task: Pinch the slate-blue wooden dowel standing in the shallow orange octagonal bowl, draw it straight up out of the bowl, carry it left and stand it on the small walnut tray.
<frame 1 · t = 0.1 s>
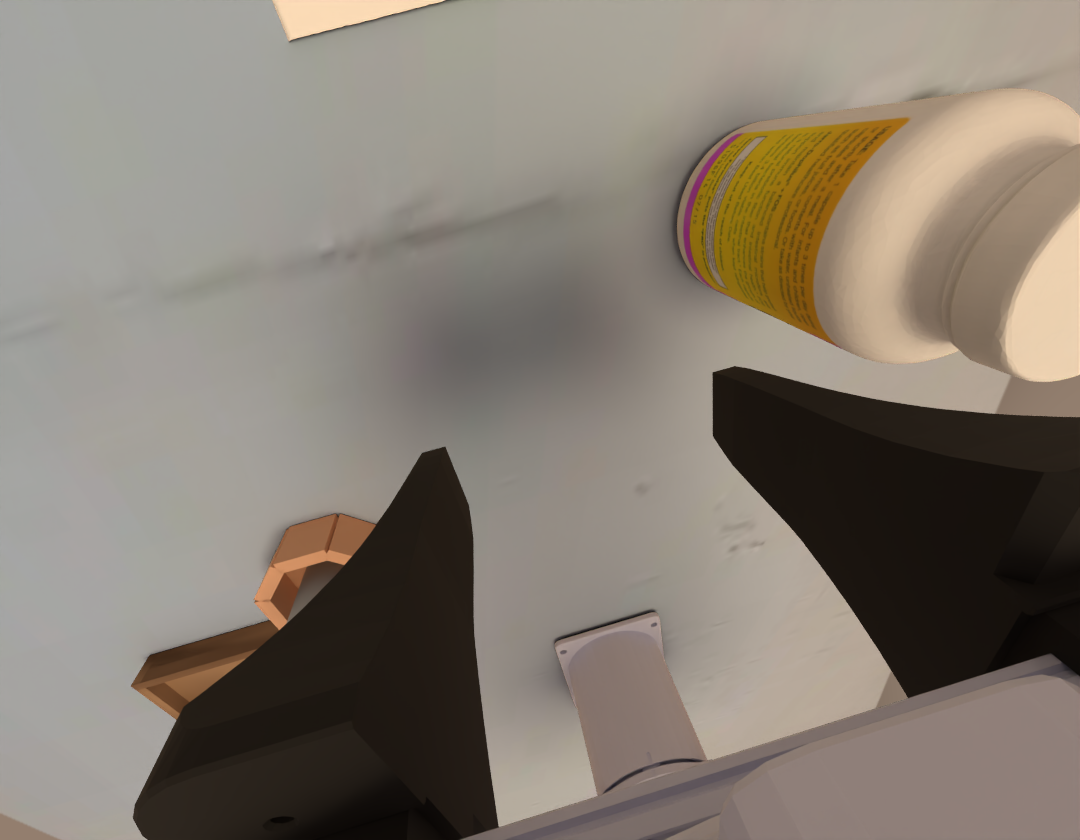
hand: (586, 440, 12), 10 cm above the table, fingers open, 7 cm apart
tray: (276, 684, 30), on the table
supplement bottle: (740, 211, 20), on the table
dowel: (338, 569, 25), point 1 cm above the table, touching orange octagonal bowl
orange octagonal bowl: (340, 560, 25), on the table
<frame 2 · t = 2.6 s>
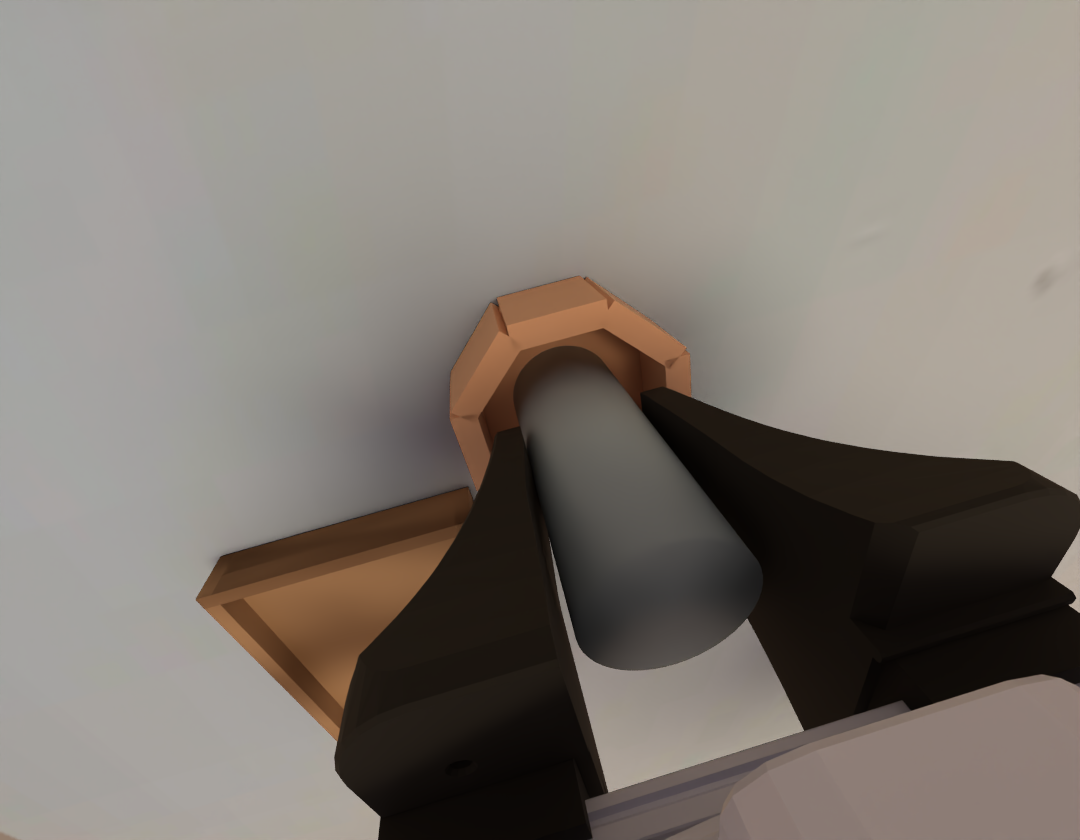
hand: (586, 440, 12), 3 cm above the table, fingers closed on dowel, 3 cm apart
tray: (407, 620, 19), on the table
dowel: (563, 393, 14), point 1 cm above the table, touching orange octagonal bowl, gripper
orange octagonal bowl: (559, 385, 15), on the table
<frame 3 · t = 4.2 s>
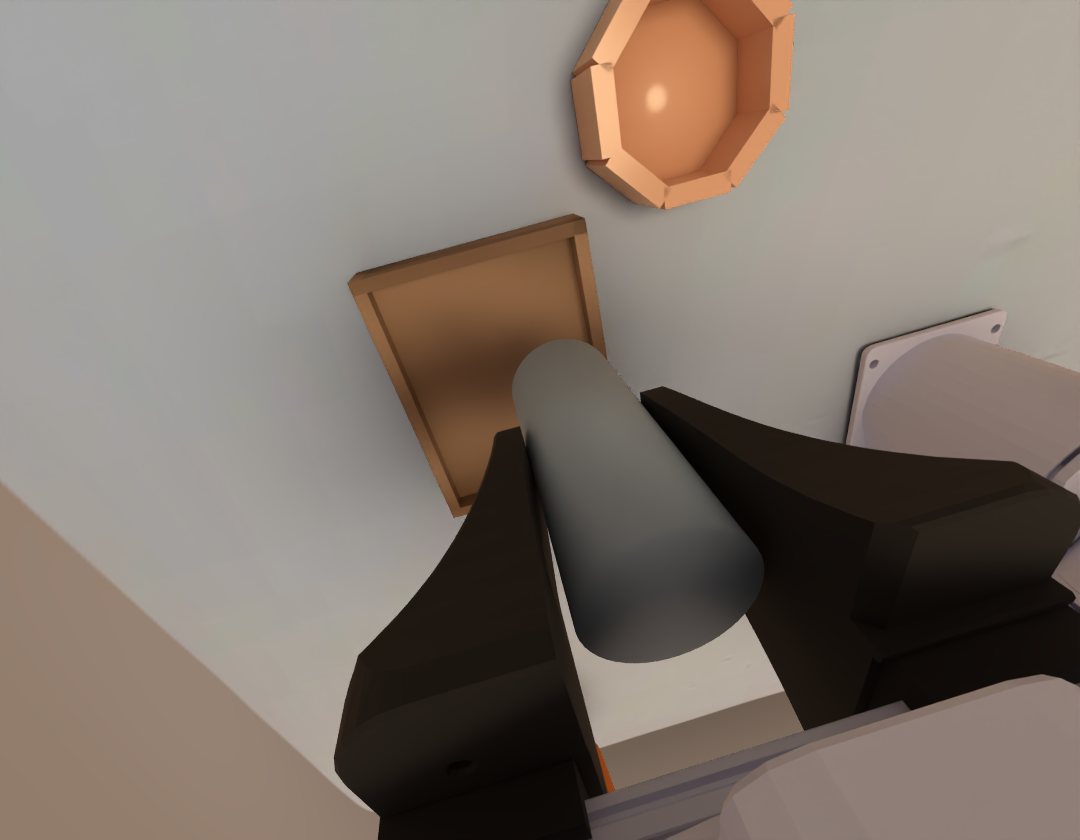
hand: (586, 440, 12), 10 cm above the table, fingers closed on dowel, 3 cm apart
tray: (505, 374, 21), on the table
dowel: (562, 387, 14), point 7 cm above the table, touching gripper
orange octagonal bowl: (662, 99, 16), on the table
when the fingers open (5 cm above the table, at t = 6.0 s): dowel stays where it is, resting on tray.
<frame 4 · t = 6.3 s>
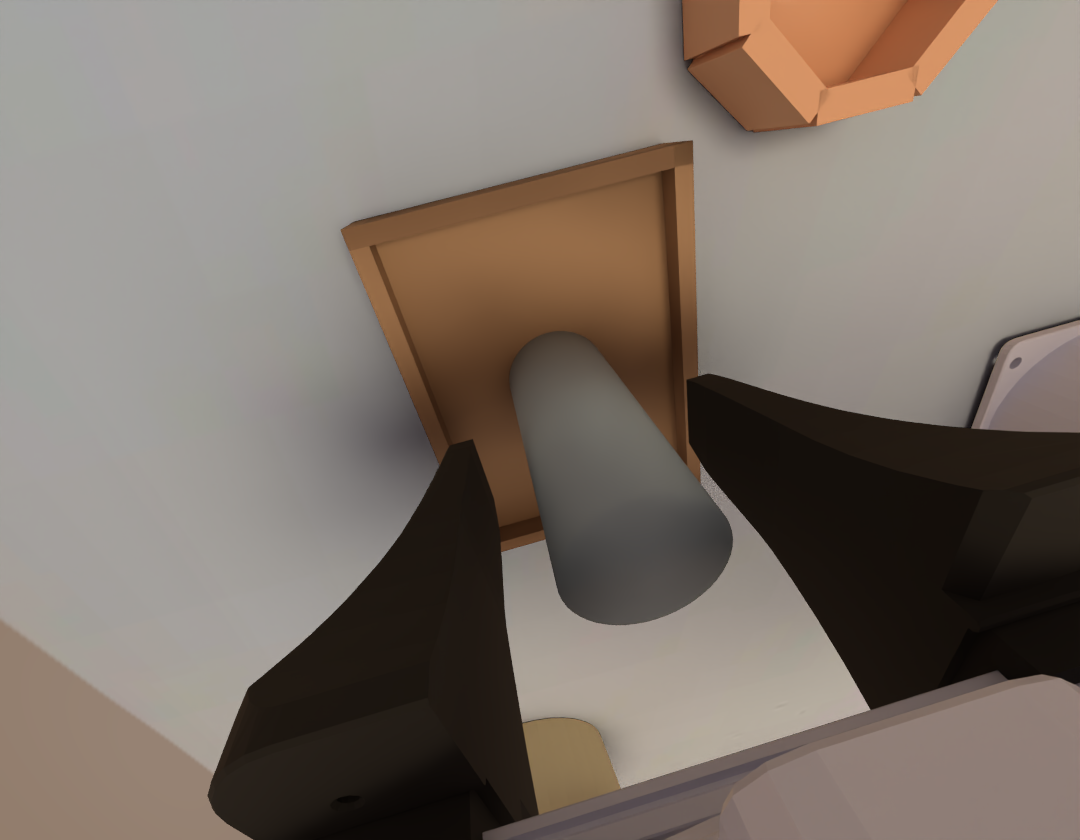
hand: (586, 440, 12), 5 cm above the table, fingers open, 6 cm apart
tray: (552, 370, 16), on the table
reusable coffee cup: (535, 751, 30), on the table
dowel: (557, 377, 15), point 1 cm above the table, touching tray
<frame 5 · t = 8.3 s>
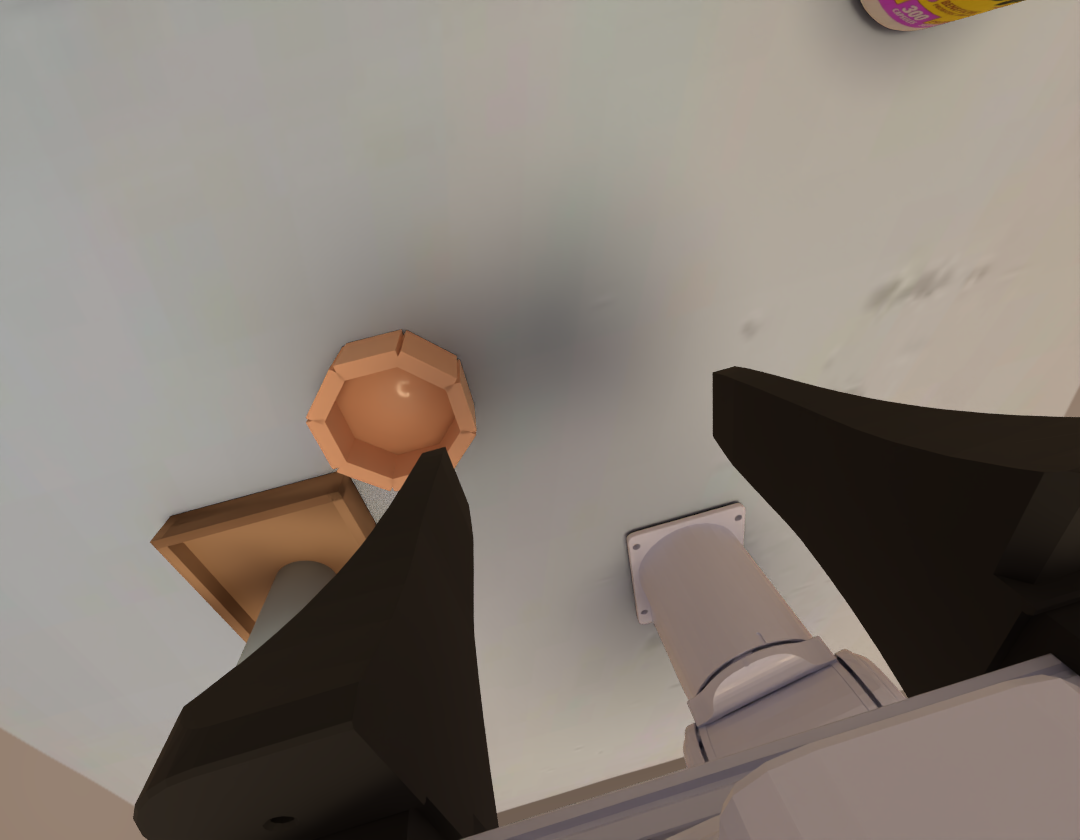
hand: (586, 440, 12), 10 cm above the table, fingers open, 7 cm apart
tray: (313, 569, 26), on the table
dowel: (307, 581, 25), point 1 cm above the table, touching tray
orange octagonal bowl: (400, 399, 21), on the table
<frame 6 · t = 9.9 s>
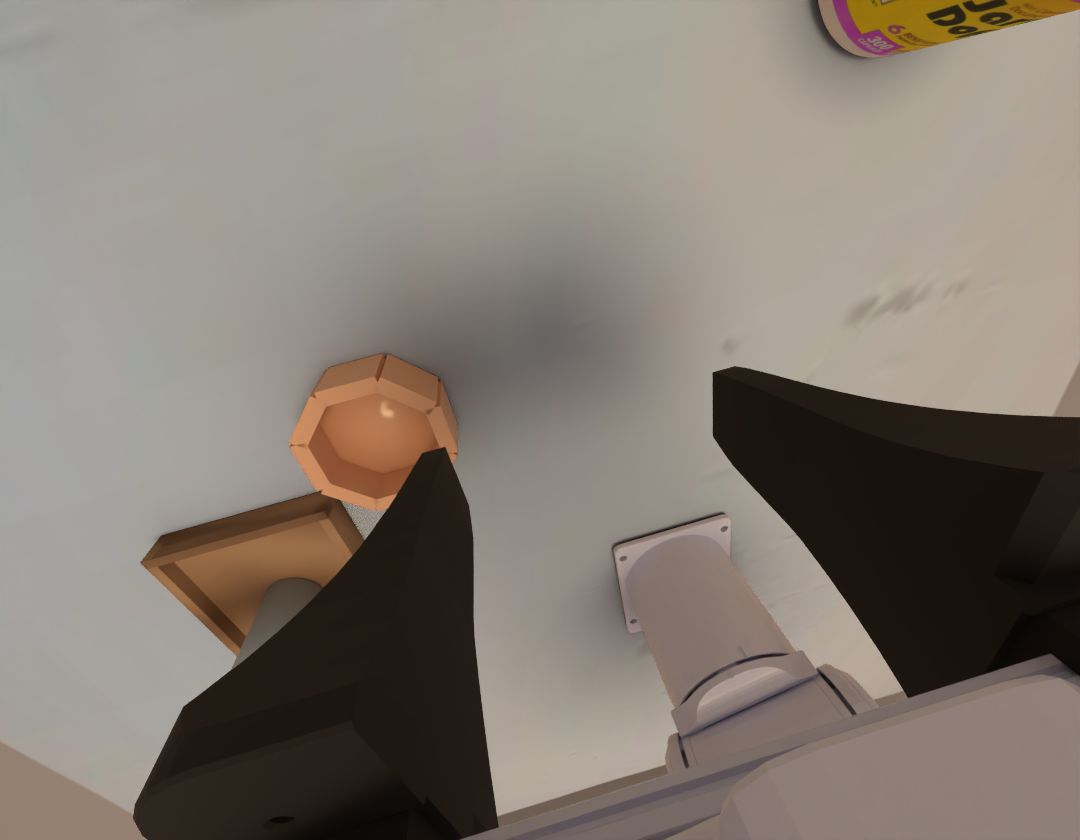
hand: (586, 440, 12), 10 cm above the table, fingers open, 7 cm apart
tray: (303, 584, 26), on the table
dowel: (297, 597, 25), point 1 cm above the table, touching tray
orange octagonal bowl: (384, 420, 22), on the table
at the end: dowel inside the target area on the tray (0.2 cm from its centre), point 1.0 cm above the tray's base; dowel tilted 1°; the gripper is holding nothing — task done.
